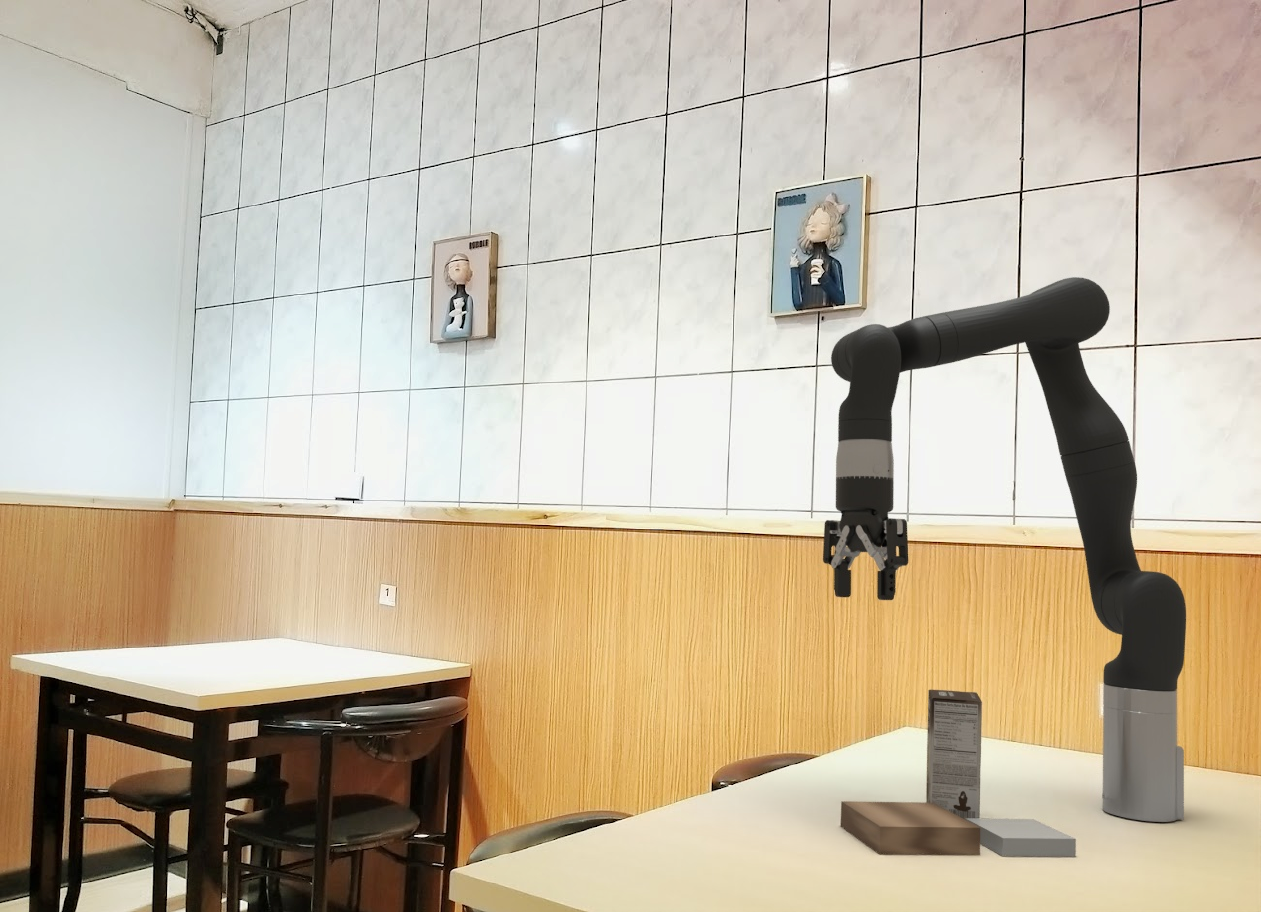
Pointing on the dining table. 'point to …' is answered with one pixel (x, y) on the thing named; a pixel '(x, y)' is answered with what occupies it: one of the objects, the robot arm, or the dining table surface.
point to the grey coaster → (1023, 838)
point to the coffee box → (954, 751)
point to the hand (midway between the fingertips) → (863, 598)
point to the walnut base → (910, 828)
